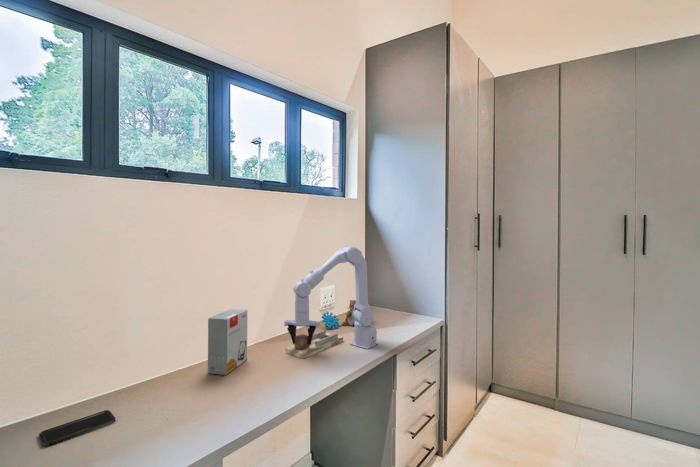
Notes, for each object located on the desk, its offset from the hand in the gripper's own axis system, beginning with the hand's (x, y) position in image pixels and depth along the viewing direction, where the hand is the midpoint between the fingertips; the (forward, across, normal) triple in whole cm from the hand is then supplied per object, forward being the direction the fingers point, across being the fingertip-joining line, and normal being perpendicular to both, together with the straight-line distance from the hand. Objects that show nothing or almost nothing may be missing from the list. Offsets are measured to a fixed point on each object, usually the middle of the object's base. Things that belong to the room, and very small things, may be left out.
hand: (302, 343), depth 145 cm
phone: (+4, +43, +60) cm, 74 cm away
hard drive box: (+4, +23, +17) cm, 29 cm away
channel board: (+4, -4, -7) cm, 9 cm away
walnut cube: (+1, 0, 0) cm, 1 cm away
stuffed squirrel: (+4, -16, -44) cm, 47 cm away
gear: (+4, -5, -36) cm, 36 cm away
